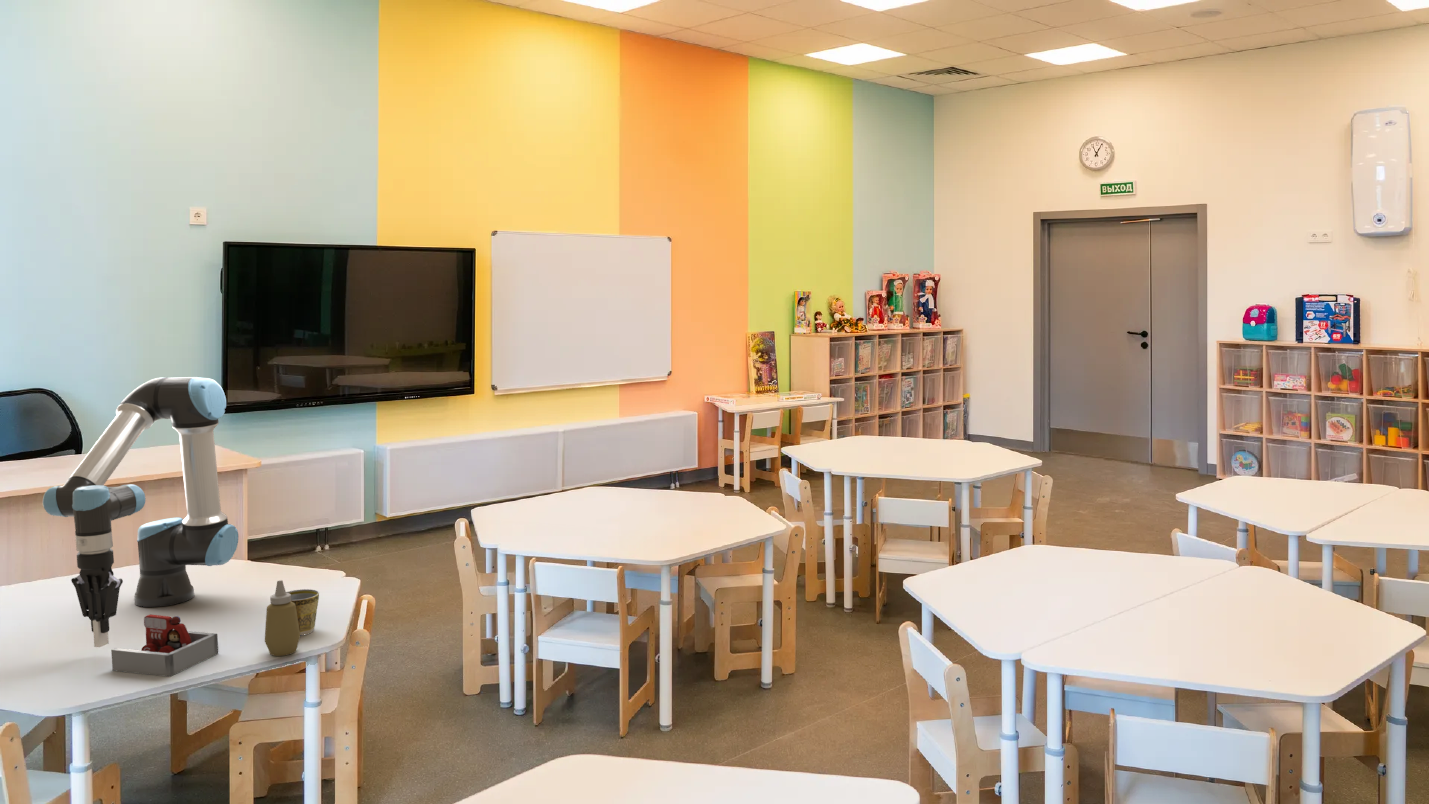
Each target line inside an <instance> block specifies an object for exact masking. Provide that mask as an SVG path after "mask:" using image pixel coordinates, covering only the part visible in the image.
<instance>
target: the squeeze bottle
mask: <svg viewBox="0 0 1429 804" xmlns="http://www.w3.org/2000/svg"><path fill="white" fill-rule="evenodd" d="M284 585H285V584H284V582H283V580H282V579H280V580H277V581H276V585H275V586H276V587H275V590H274V591H275V592H274V594H272V595H270V604H268V605H267V606H266V614H265V628H264V629H265V632H264V643H265V645H266V647H267V648H266V649H268V652H269V654H270V655H271V656H274V657H275V656H276V657H282V656H288V655H291V654H292V655H293V654H294V653H296V652H297V648H298V646H299V642H300V639H301V636H300V631H299V624H298V618H297V612H296V605H295V603H293V602H291V594H289V593H286V592H287V591H286V588H285V586H284Z"/></svg>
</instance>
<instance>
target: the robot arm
mask: <svg viewBox="0 0 1429 804" xmlns="http://www.w3.org/2000/svg"><path fill="white" fill-rule="evenodd" d="M226 408H227V398H226V395H225V392H224V390H223V388H222V386H221V385H220V384H219V383H218V382H217V381H216V380H215V379H212V378H209V377H200V376H187V377H186V376H185V377H184V376H183V377H182V376H180V377H179V376H178V377H177V376H176V377H168V376H167V377H165V376H164V377H155V378H152V379H149V380H148V381H146V382H144V383H142V384H140V385H139V386H138V387H136V388H134V389H133V390H132V391H131V392H130V393H129V394H128V395H127V396H125V398H123V399H122V401H121V402H120V403H119V405H118V406H117V407H116V410H115V414H116V416H115V417H114V418H113V420H112V421H111V422H110V423H109V425H108V426H107V427H106V428H105V430H104V431H103V433H102V434H100V436H99V438H98V440H96V441H95V443H94V444H93V446H92V447H91V449H90V450H89V451H88V453H87V454H86V456H85V457H84V458H83V459H82V461H81V462H80V463H79V465H78V466H77V467H76V468H75V470H74V471H73V472H72V473H71V475H70V476H69V478H68V479H67V480H66V482H65V483H64V484H63V485H57V486H56V485H55V486H52V487H50V488H48V489H47V490H46V491H45V492H44V494H43V498H42V506H43V509H44V510H45V512H46V513H47V514H49V515H50V516H55V517H64V518H68V517H70V518H71V517H73V519H74V521H73V522H74V528H75V529H74V530H75V531H74V534H75V535H74V537H75V548H76V549H75V550H76V551H77V553H76V565H77V568H78V569H79V574H78V575H77V576H76V577H72V578H71V579H70V581H71V583H72V585H73V588H75V591H76V595H77V600H78V602H79V606H80V610H81V614H82V616H83V618H84V617H85V618H86V617H87V618H88V619H89V620H90V625H91V626H90V627H91V632H92V633H93V646H94V647H95V648H101V647H104V646H106V645H108V644H109V632H110V618H112V617H115V616H117V611H118V609H117V608H118V603H119V597H120V588H121V586H122V585H123V582H124V581H123V578H117V577H116V576H115V575H114V571H113V568H112V566H113V564H115V560H114V550H113V549H112V548H113V547H114V543H113V532H112V530H113V529H112V522H113V521H115V520H118V519H121V518H125V517H130V516H132V515H134V514H135V513H138V512H140V511H142V509H143V508H144V507H145V504H146V495H145V492H144V490H143V489H142V488H141V487H140V486H138V485H136V484H122V485H120V486H106V485H105V484H106V483H107V481H108V480H109V478H110V477H111V476H112V474H113V473H114V471H115V470H116V469H117V467H118V466H119V465H120V463H121V462H122V461H123V459H124V457H125V456H126V455H127V454H128V452H129V451H130V449H131V448H132V447H133V445H134V444H135V442H136V441H137V439H138V438H139V437H140V435H141V434H142V433H143V431H144V430H148V429H150V428H151V427H152V426H153V424H154V423H156V422H158V421H159V420H163V419H164V420H171V427H172V429H174V430H175V431H176V432H177V433H178V436H179V444H180V445H179V446H180V447H179V448H180V455H181V463H182V464H181V465H182V475H183V476H182V477H183V485H184V495H185V505H186V517H184V519H183V518H182V517H170V518H169V517H168V518H163V519H158V520H154V521H150V522H149V521H148V522H146V523H144V524H142V525H140V526H139V527H138V529H137V540H136V541H137V547H138V548H137V550H138V565H139V579H138V582H137V586H136V591H135V593H134V595H133V597H134V598H133V599H134V600H133V601H134V605H136V606H138V607H142V606H143V607H144V608H155V607H167V606H173V605H177V604H181V603H184V602H187V601H189V600H192V599H193V598H194V597H195V589H194V586H193V585H192V583H191V580H190V578H189V574H188V572H187V566H206V567H207V566H208V567H212V566H222V565H225V564H227V563H228V562H229V561H230V560H232V558H233V557H234V555H235V553H236V551H237V548H238V543H239V531H238V529H237V528H236V526H235V525H234V524H232V523H229V521H228V520H229V519H228V515H227V514H225V513H224V512H222V507H221V499H220V487H219V478H218V477H219V476H218V475H219V474H218V467H217V466H218V465H217V455H216V444H215V435H214V429H216V427H217V426H218V425H219V423H220V422H219V420H220V419H221V418H223V416H224V414H225V412H226V410H225V409H226Z"/></svg>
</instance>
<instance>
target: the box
mask: <svg viewBox="0 0 1429 804" xmlns="http://www.w3.org/2000/svg"><path fill="white" fill-rule="evenodd" d="M187 631H188V633H189V636H190V638H191V644H188V645H186V646H184V647H182V648H179V649H177V650H175V651H173V652H170V653H161V652H150V651H141V650H138V649H129V648H126V649H125V648H117V647H114V648H113V649H111V650H110V651H111V652H110V653H111V667H112V671H113V670H117V671H116V672H121V671H124V672H125V673H132V674H140V673H141V674H142V675H153V676H163V677H170V678H171V677H172V676H175V675H177V674H179V673H181V672H183V671H186V670H187V669H190V668H191V667H193V666H195V665H198V664H199V663H201V662H204V661H206V660H208V659H210V658H212V657H214V656H217V655H219V640H218V633H214V632H213V633H212V632H205V631H204V632H203V631H202V632H201V631H192V630H191V631H189V630H187ZM124 672H123V673H124Z"/></svg>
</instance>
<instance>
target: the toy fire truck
mask: <svg viewBox="0 0 1429 804" xmlns="http://www.w3.org/2000/svg"><path fill="white" fill-rule="evenodd" d="M181 621H182V620H181V617H180V616H178V615H177V616H175V615H174V616H173V617H172V616H168V615H159V614H148V615H145V616H144V617H143V625H144V627H145V645H144V646H142V648H141V650H140V651H150V652H161V653H170V652H173V651H175V650H177V649H179V648H182V647H184V646H186V645H188V644H191V638H190V636H189V633H188V631H189V630H188V629H187V627H186V625H185V624H184V623H182V622H181Z"/></svg>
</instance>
